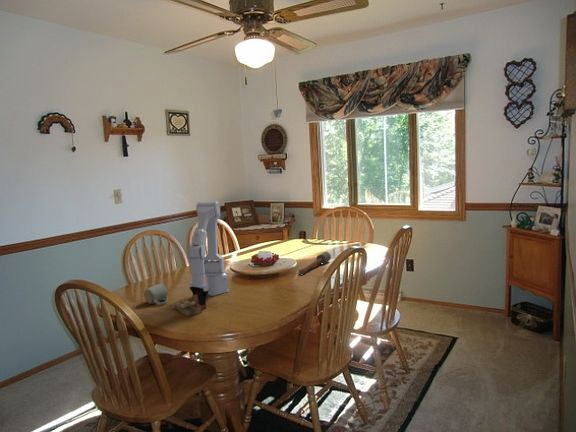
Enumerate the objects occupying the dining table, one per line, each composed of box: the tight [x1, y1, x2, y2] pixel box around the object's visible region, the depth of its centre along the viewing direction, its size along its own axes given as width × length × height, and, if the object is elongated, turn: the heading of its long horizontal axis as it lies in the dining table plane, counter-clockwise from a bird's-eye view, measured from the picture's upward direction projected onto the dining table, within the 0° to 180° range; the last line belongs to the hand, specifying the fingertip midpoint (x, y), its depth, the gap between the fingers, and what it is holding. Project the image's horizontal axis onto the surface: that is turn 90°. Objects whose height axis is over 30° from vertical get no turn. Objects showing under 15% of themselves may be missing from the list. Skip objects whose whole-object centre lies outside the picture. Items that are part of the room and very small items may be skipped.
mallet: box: [298, 251, 332, 275], centre depth 243 cm, size 6×6×30 cm
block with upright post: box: [181, 294, 207, 310], centre depth 186 cm, size 10×4×6 cm, turn 125°
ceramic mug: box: [143, 283, 168, 306], centre depth 197 cm, size 11×8×8 cm
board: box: [173, 300, 202, 317], centre depth 186 cm, size 6×14×2 cm, turn 36°
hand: (200, 303), depth 188 cm, fingers closed on block with upright post, 4 cm apart
